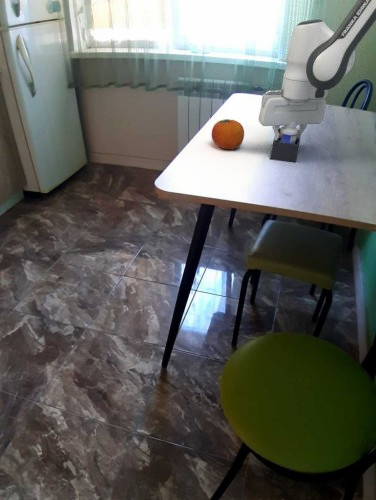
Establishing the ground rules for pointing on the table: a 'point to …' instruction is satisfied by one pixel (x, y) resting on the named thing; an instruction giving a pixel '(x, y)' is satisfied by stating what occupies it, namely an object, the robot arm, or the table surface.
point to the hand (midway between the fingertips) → (287, 139)
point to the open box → (284, 151)
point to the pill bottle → (288, 133)
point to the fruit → (228, 134)
